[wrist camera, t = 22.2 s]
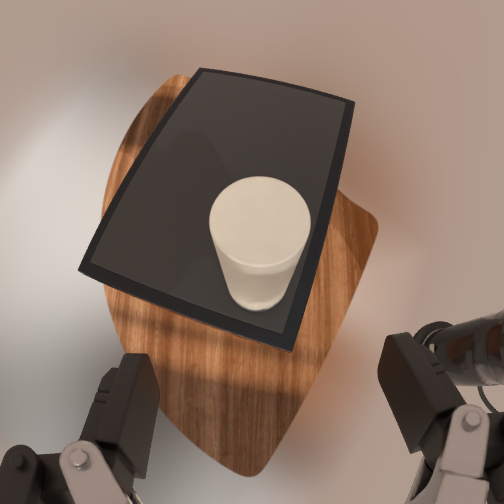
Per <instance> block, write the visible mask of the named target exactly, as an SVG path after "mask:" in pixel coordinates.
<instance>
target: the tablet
mask: <svg viewBox="0 0 504 504" xmlns="http://www.w3.org/2000/svg"><path fill="white" fill-rule="evenodd" d="M354 106H355V102H354V101H351V100H348V99H345V98H342V97H338V96H335V95H332V94H328V93H325V92H321V91H317V90H314V89H310V88H306V87H302V86H298V85H294V84H289V83H285V82H281V81H277V80H272V79H267V78H262V77H256V76H252V75H246V74H241V73H234V72H228V71H222V70H215V69H206V68H199V69H198V70H197V72H196V73H195V74H194V76H193V77H192V78H191V79H190V81H189V82H188V83H187V84H186V86H185V87H184V88H183V90H182V91H181V92H180V94H179V95H178V97H177V98H176V99H175V101H174V102H173V103H172V105H171V106H170V108H169V109H168V111H167V112H166V113H165V115H164V116H163V118H162V119H161V121H160V122H159V124H158V125H157V127H156V128H155V130H154V131H153V133H152V134H151V136H150V137H149V139H148V140H147V142H146V143H145V145H144V147H143V148H142V150H141V151H140V153H139V155H138V156H137V158H136V159H135V161H134V163H133V164H132V166H131V168H130V169H129V171H128V173H127V174H126V176H125V178H124V180H123V181H122V183H121V185H120V187H119V188H118V190H117V192H116V194H115V196H114V197H113V199H112V201H111V203H110V205H109V207H108V209H107V210H106V212H105V214H104V216H103V218H102V220H101V222H100V224H99V226H98V228H97V230H96V232H95V234H94V236H93V238H92V240H91V242H90V244H89V246H88V249H87V251H86V253H85V255H84V257H83V259H82V262H81V264H80V266H79V269H78V271H79V272H81V273H83V274H84V275H86V276H88V277H90V278H92V279H95V280H97V281H99V282H101V283H103V284H106V285H108V286H110V287H112V288H115V289H117V290H119V291H122V292H124V293H126V294H129V295H131V296H133V297H136V298H138V299H140V300H143V301H145V302H148V303H150V304H153V305H155V306H158V307H160V308H163V309H165V310H168V311H170V312H173V313H175V314H178V315H180V316H183V317H186V318H188V319H191V320H194V321H196V322H199V323H202V324H204V325H207V326H210V327H213V328H215V329H218V330H221V331H224V332H227V333H230V334H232V335H235V336H238V337H241V338H244V339H247V340H250V341H253V342H256V343H259V344H262V345H265V346H269V347H272V348H275V349H278V350H281V351H285V352H288V353H290V352H292V350H293V347H294V344H295V341H296V337H297V334H298V331H299V328H300V325H301V321H302V318H303V315H304V312H305V308H306V305H307V301H308V298H309V295H310V291H311V288H312V284H313V281H314V277H315V274H316V270H317V267H318V263H319V259H320V256H321V252H322V248H323V244H324V241H325V237H326V233H327V229H328V225H329V221H330V217H331V213H332V209H333V205H334V201H335V197H336V192H337V188H338V184H339V179H340V175H341V170H342V166H343V161H344V157H345V152H346V147H347V143H348V137H349V133H350V127H351V123H352V117H353V112H354ZM255 176H264V177H271V178H275V179H278V180H281V181H283V182H285V183H287V184H288V185H290V186H291V187H293V188H294V189H295V190H296V191H297V192H298V193H299V194H300V195H301V197H302V198H303V199H304V201H305V203H306V205H307V207H308V210H309V213H310V220H311V226H310V232H309V236H308V239H307V241H306V244H305V246H304V249H303V251H302V253H301V256H300V258H299V261H298V263H297V266H296V268H295V270H294V273H293V275H292V277H291V280H290V282H289V285H288V287H287V289H286V292H285V294H284V296H283V298H282V299H281V301H280V302H279V303H278V304H277V305H276V306H275V307H273V308H271V309H269V310H266V311H262V312H252V311H248V310H246V309H243V308H242V307H240V306H239V305H238V304H237V303H236V302H235V301H234V300H233V299H232V297H231V295H230V293H229V290H228V286H227V283H226V280H225V277H224V274H223V271H222V268H221V264H220V261H219V258H218V255H217V252H216V248H215V245H214V242H213V239H212V236H211V232H210V226H209V217H210V212H211V209H212V206H213V204H214V202H215V200H216V198H217V197H218V196H219V194H220V193H221V192H222V191H223V190H224V189H225V188H227V187H228V186H229V185H231V184H232V183H234V182H236V181H238V180H241V179H244V178H248V177H255Z"/></svg>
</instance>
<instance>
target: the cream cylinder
mask: <svg viewBox="0 0 504 504" xmlns="http://www.w3.org/2000/svg"><path fill="white" fill-rule="evenodd" d="M209 226H210V232H211V236H212V239H213V242H214V245H215V248H216V252H217V255H218V258H219V261H220V264H221V268H222V271H223V274H224V277H225V280H226V283H227V286H228V290H229V293H230V295H231V297H232V299H233V300H234V301H235V302H236V303H237V304H238V305H239V306H240V307H242V308H243V309H246V310H248V311H252V312H262V311H266V310H269V309H271V308H273V307H275V306H276V305H277V304H278V303H279V302H280V301H281V299H282V298H283V296H284V294H285V292H286V289H287V287H288V285H289V282H290V280H291V277H292V275H293V273H294V270H295V268H296V266H297V263H298V261H299V258H300V256H301V253H302V251H303V249H304V246H305V244H306V241H307V239H308V236H309V232H310V226H311V220H310V213H309V210H308V207H307V205H306V203H305V201H304V199H303V198H302V197H301V195H300V194H299V193H298V192H297V191H296V190H295V189H294V188H293V187H291V186H290V185H288V184H287V183H285V182H283V181H281V180H278V179H275V178H271V177H264V176H255V177H248V178H244V179H241V180H238V181H236V182H234V183H232V184H231V185H229V186H228V187H227V188H225V189H224V190H223V191H222V192H221V193H220V194H219V196H218V197H217V198H216V200H215V202H214V204H213V206H212V209H211V212H210V217H209Z"/></svg>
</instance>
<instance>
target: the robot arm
mask: <svg viewBox="0 0 504 504" xmlns="http://www.w3.org/2000/svg"><path fill="white" fill-rule="evenodd" d="M377 372H378V380H379V383H380V385H381V387H382V390H383V392H384V394H385V396H386V398H387V401H388V403H389V405H390V407H391V410H392V412H393V414H394V417H395V419H396V421H397V423H398V426H399V428H400V430H401V433H402V435H403V438H404V440H405V442H406V445H407V447H408V449H409V452H410V454H412V453H415V452H418V451H421V450H422V453H423V455H424V456H423V458H422V460H421V462H420V466H419V468H418V472H417V474H416V477H415V479H414V482H413V485H412V487H411V490H410V493H409V495H408V497H407V500H406V502H405V504H486V501H487V504H504V412H498V411H497V410H496V409H495V408H494V407H493V406H492V405H491V404H490V403H489V402H488V400H487V398H486V397H485V395H484V392H483V389H482V386H494V385H504V309H503V310H500V311H497V312H494V313H491V314H489V315H486V316H483V317H480V318H477V319H473V320H470V321H467V322H464V323H460V324H457V325H454V326H450V327H446V328H441V329H437V330H434V331H432V332H430V333H429V334H428V335H427V336H426V337H425V338H424V339H423V341H422V342H421V344H417V343H416V341H415V340H414V338H413V337H412V336H411V334H410V333H408V332H405V333H399V334H393V335H388V336H387V337H386V339H385V343H384V347H383V350H382V354H381V358H380V361H379V365H378V371H377ZM456 386H477V387H478V391H479V394H480V397H481V399H482V400H483V402H484V404H485V405H486V406H487V407H488V409H489V410H490V411H491V412H492V413H486V412H485V411H484V410H483V409H482V408H480V407H478V406H476V405H473V404H467V403H466V402H465V400H464V399H463V397H462V396H461V394H460V392H459V391H458V389H457V388H456ZM159 400H160V389H159V384H158V381H157V378H156V375H155V373H154V370H153V367H152V364H151V361H150V358H149V356H148V354H139V353H125V354H124V356H123V358H122V361H121V363H120V366H119V368H111V369H110V370H109V371H108V372H107V373H106V374H105V376H104V377H103V378H102V380H101V382H100V385H99V387H98V392H97V393H96V395H95V398H94V402H93V403H92V406H91V408H90V411H89V414H88V417H87V419H86V422H85V425H84V428H83V431H82V434H81V436H80V439H79V440H78V441H75V442H73V443H70V444H69V445H68V446H66V447H65V448H64V450H63V451H62V453H56V454H43V455H41V454H40V455H37V454H36V453H35V452H34V451H33V450H32V449H31V448H30V447H28V446H26V445H16V446H14V447H12V448H10V449H9V450H8V451H7V452H6V454H5V456H4V458H3V461H2V463H1V466H0V504H143V503H142V502H141V500H140V499H139V497H138V496H137V494H136V492H135V491H134V489H133V488H132V487H133V481H134V478H139V479H145V477H146V471H147V464H148V459H149V453H150V448H151V442H152V437H153V431H154V426H155V421H156V416H157V410H158V406H159Z"/></svg>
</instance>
